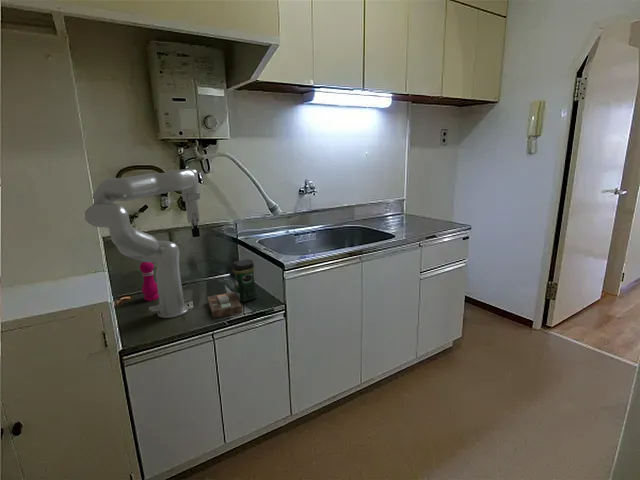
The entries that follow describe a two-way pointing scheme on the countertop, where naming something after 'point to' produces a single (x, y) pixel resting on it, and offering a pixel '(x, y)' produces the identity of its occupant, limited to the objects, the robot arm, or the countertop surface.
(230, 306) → the sage key
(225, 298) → the grey key
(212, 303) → the keypad
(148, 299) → the pepper mill
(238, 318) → the countertop surface
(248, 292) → the coffee jar
